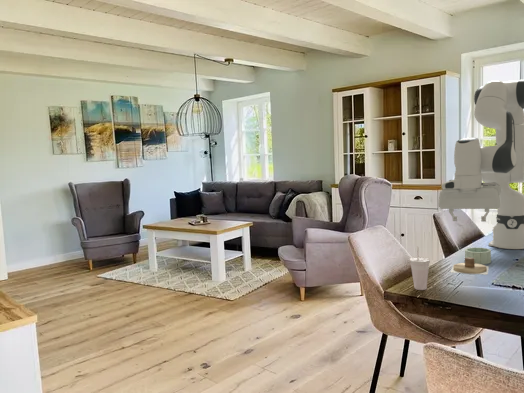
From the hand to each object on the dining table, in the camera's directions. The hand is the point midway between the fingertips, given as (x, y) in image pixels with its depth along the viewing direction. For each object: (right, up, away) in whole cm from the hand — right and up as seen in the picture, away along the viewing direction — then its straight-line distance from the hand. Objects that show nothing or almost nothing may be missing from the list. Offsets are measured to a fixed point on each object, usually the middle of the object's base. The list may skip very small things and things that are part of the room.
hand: (469, 221), depth 161 cm
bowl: (+9, -17, +12) cm, 23 cm away
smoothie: (-23, -22, -15) cm, 35 cm away
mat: (+1, -18, +2) cm, 18 cm away
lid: (+1, -18, +2) cm, 18 cm away
